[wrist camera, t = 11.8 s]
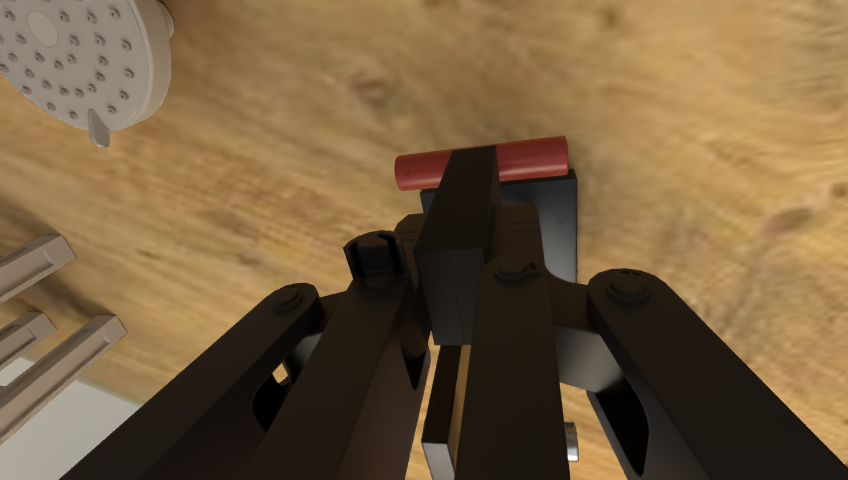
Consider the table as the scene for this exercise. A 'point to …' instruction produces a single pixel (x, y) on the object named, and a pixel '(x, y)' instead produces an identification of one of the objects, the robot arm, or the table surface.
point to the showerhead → (88, 59)
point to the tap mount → (449, 383)
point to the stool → (43, 335)
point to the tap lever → (512, 162)
